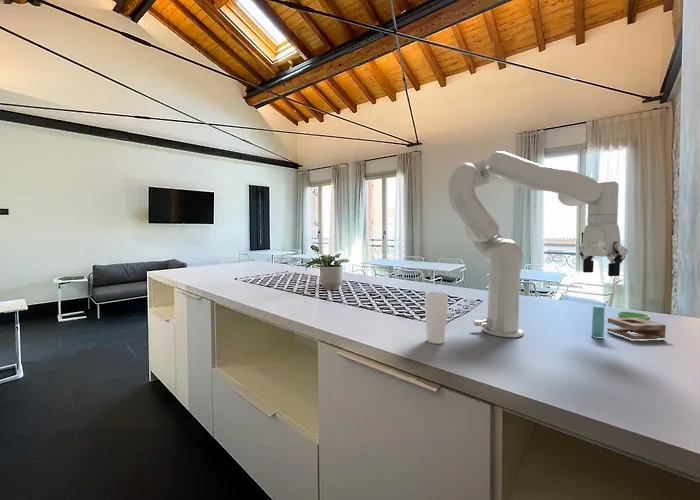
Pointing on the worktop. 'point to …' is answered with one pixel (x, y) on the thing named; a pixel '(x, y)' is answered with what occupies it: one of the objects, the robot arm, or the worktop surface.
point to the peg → (598, 321)
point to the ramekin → (633, 315)
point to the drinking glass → (436, 316)
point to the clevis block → (638, 328)
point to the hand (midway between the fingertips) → (600, 274)
